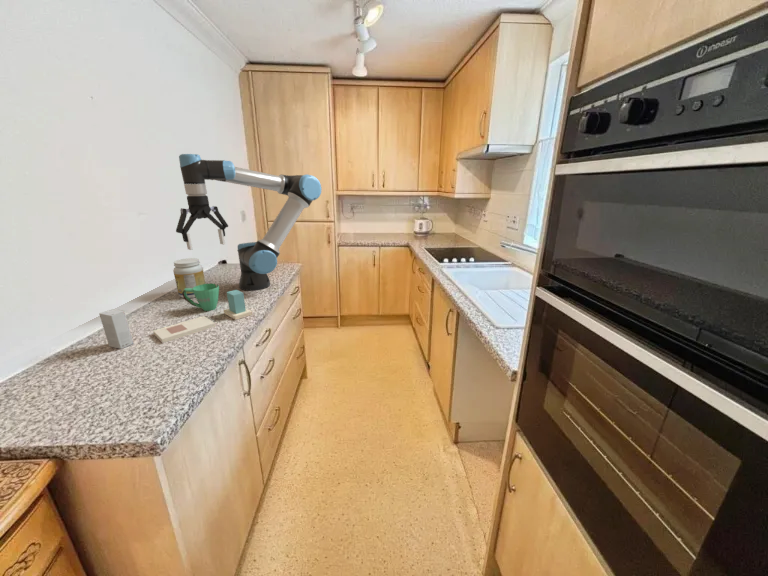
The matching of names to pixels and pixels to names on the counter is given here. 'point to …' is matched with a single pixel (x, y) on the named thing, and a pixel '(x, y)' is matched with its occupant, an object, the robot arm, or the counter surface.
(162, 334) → the ticket
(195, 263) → the supplement tub
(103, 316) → the skincare box
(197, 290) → the mug
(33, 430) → the counter surface
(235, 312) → the stub
